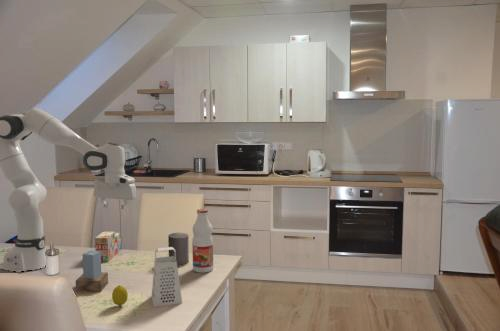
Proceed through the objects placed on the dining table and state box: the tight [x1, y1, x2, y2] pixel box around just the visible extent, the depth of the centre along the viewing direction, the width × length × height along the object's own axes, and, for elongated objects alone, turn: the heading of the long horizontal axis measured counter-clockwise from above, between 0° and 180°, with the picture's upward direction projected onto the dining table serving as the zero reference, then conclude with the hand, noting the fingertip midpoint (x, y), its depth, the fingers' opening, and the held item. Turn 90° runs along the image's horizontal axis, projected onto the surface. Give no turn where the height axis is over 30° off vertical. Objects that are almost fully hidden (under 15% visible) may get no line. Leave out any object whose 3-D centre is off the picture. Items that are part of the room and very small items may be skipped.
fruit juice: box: [191, 208, 214, 274], centre depth 213 cm, size 9×9×28 cm
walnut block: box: [75, 271, 109, 293], centre depth 193 cm, size 10×10×5 cm
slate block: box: [82, 250, 102, 279], centre depth 192 cm, size 5×5×10 cm
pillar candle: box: [167, 232, 190, 267], centre depth 225 cm, size 10×10×15 cm
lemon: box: [111, 284, 129, 307], centre depth 173 cm, size 6×6×8 cm
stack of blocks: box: [94, 231, 122, 263], centre depth 237 cm, size 21×6×12 cm, turn 179°
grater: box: [151, 246, 183, 307], centre depth 178 cm, size 10×10×20 cm
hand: (114, 208), depth 215 cm, fingers open, 8 cm apart
